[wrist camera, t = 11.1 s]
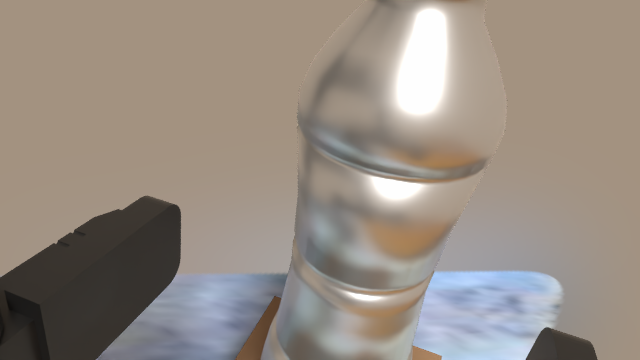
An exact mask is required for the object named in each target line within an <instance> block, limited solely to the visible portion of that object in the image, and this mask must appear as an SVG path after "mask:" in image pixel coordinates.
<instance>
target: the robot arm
mask: <svg viewBox="0 0 640 360" xmlns="http://www.w3.org/2000/svg"><path fill="white" fill-rule="evenodd" d="M180 245H181V212H180V209H179V207H178V206H177V205H175V204H172V203H169V202H166V201H163V200H159V199H156V198H153V197H150V196H144V197H142V198H140V199H138V200H137V201H135V202H134V203H132V204H131V205H129V206H128V207H126V208H125V209H123V210H119V209H118V210H115V211H112V212H109V213H106V214H103V215H100V216H97V217H94V218H92V219H91V220H89V221H88V222H86V223H85V224H83V225H81V226H80V227H78V228H77V229H75V230H74V233H69V234H68V235H66V236H64V237H63V238H61V239H60V240H58V242H57V244H52V245H50V246H49V247H47V248H46V249H44V250H42V251H41V252H39V253H38V254H36V255H35V256H33V257H32V258H30V259H28V260H27V261H25V262H24V263H22V264H21V265H19V266H18V267H16V268H14V269H13V270H11V271H10V272H8V273H7V274H5V275H4V276H2V277H0V360H96V359H97V358H98V357H99V356H100V355H101V353H102V352H103V351H104V350H105V349H106V348H107V347H108V346H109V345H110V344H111V343H112V342H113V341H114V340H115V339H116V338H117V337H118V336H119V335H120V334H121V333H122V332H123V331H124V330H125V329H126V328H127V327H128V326H129V325H130V324H131V323H132V322H133V321H134V320H135V319H136V318H137V317H138V316H139V315H140V314H141V313H142V312H143V311H144V310H145V309H146V308H147V307H148V306H149V305H150V304H151V303H152V302H153V301H154V300H155V298H156V297H157V296H158V295H159V294H160V293H161V292H162V291H163V290H164V289H165V288H166V287H167V286H168V285H169V284H170V283H171V282H172V280H173V279H174V277H175V275H176V273H177V270H178V268H179V264H180V250H181V249H180V247H181V246H180ZM526 360H597V357H596V353H595V350H594V347H593V345H592V344H591V342H589V341H588V340H585V339H581V338H579V337H575V336H572V335H569V334H566V333H563V332H560V331H557V330H554V329H551V328H548V327H547V328H544V329H543V330H542V331H541V332H540V334H539V336H538V338H537V339H536V341H535V343H534V345H533V347H532V349H531V351H530V352H529V354H528V356H527V358H526Z"/></svg>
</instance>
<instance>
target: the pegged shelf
mask: <svg viewBox="0 0 640 360" xmlns="http://www.w3.org/2000/svg"><path fill="white" fill-rule="evenodd" d="M281 299H282V298H279V297H276V296H274V298H273V300H272V301H271V303H270V304H269V306H268V308H267V309H266V311H265V312H264V314H263V316H262V317H261V319H260V320H259V322H258V324H257V325H256V327H255V328H254V330H253V332H252V333H251V335H250V336H249V338H248V340H247V341H246V343H245V344H244V346H243V348H242V349H241V351H240V352H239V354H238V356H237V357H236V359H235V360H261V355H262V351H263V347H264V344H265V341H266V338H267V335H268V332H269V328H270V326H271V323H272V321H273V319H274V317H275V315H276V313H277V311H278V309H279V306H280V302H281ZM441 358H442V356H440V355H437V354H435V353H432V352H429V351H426V350H424V349H421V348H418V347H415V346H413V353H412V360H441Z"/></svg>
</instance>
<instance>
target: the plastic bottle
mask: <svg viewBox="0 0 640 360" xmlns="http://www.w3.org/2000/svg"><path fill="white" fill-rule="evenodd" d="M487 1H488V0H364V1H363V2H362V3H361V4H360V5H359V6H358V7H357V8H356V9H355V11H354V12H353V13H352V14H351V15H350V16H349V17H348V18H347V19H346V20H345V21H344V22H343V23H342V24H341V25H340V26H339V27H338V28H337V29H336V30H335V31H334V33H333V34H332V35H331V37H330V38H329V39H328V40H327V42H326V43H325V44H324V45H323V47H322V48H321V50H320V51H319V52H318V53H317V54H316V56H315V57H314V58H313V60H312V62H311V64H310V66H309V69H308V71H307V73H306V76H305V78H304V80H303V82H302V84H301V87H300V89H299V99H298V113H297V120H298V126H297V133H298V135H297V136H298V137H297V139H298V141H297V143H298V198H297V208H296V218H295V237H294V240H293V250H292V261H291V264H290V268H289V272H288V276H287V280H286V283H285V287H284V291H283V295H282V299H281V302H280V306H279V309H278V311H277V313H276V315H275V317H274V319H273V321H272V323H271V326H270V328H269V332H268V335H267V338H266V341H265V344H264V347H263V351H262V355H261V360H412V353H413V341H414V337H415V333H416V329H417V325H418V321H419V317H420V313H421V309H422V304H423V300H424V296H425V292H426V290H427V287H428V285H429V283H430V280H431V278H432V276H433V273H434V269H435V268H436V266H437V264H438V262H439V260H440V257H441V255H442V252H443V250H444V248H445V246H446V243H447V241H448V238H449V236H450V234H451V232H452V230H453V228H454V226H455V224H456V223H457V221H458V219H459V217H460V216H461V214H462V212H463V210H464V208H465V206H466V205H467V203H468V201H469V199H470V198H471V196H472V194H473V192H474V191H475V189H476V187H477V185H478V183H479V182H480V180H481V178H482V176H483V174H484V173H485V170H486V169H487V166H488V165H489V164H490V162H491V160H492V158H493V156H494V154H495V151H496V149H497V147H498V145H499V143H500V141H501V139H502V136H503V134H504V132H505V124H506V109H507V98H506V93H505V89H504V84H503V80H502V76H501V71H500V68H499V63H498V60H497V57H496V54H495V51H494V48H493V45H492V42H491V40H490V37H489V34H488V31H487V28H486V25H485V22H484V17H485V10H486V9H485V8H486V4H487Z"/></svg>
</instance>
